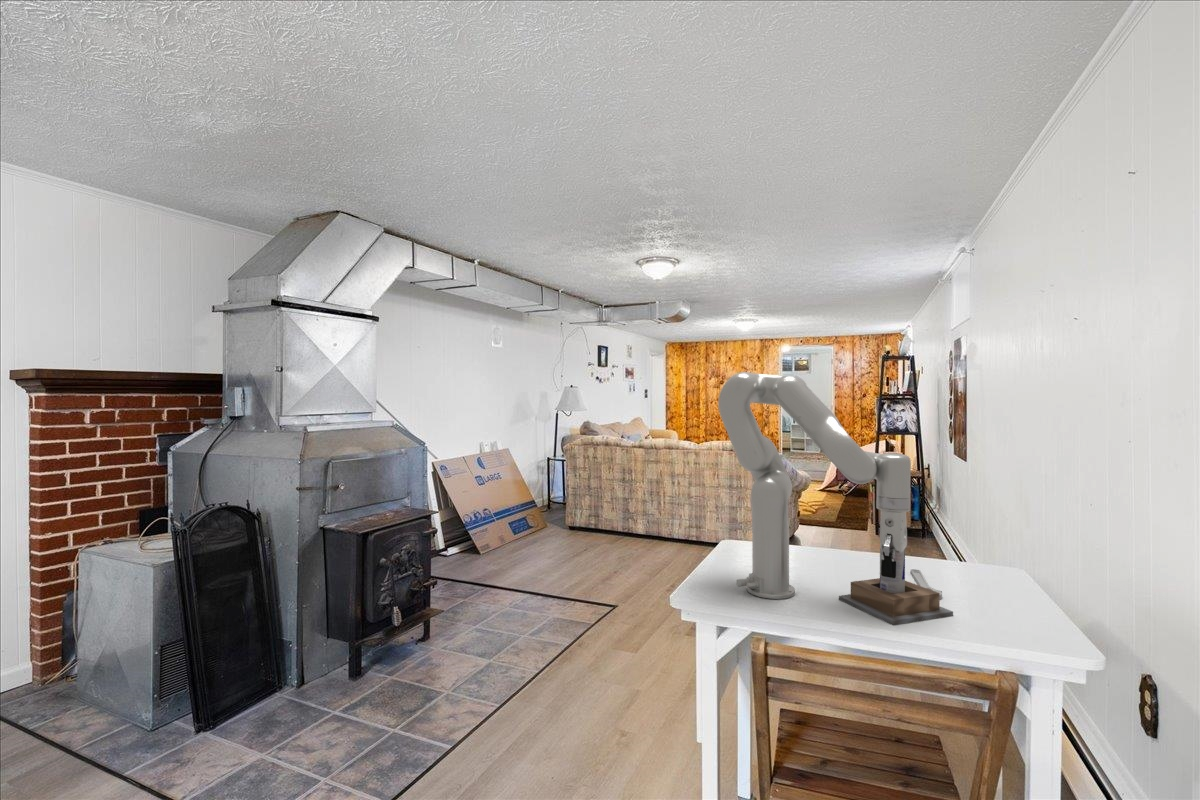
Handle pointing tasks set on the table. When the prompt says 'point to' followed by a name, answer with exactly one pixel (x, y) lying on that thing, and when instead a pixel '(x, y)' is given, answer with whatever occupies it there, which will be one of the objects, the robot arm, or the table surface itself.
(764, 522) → the robot arm
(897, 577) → the beverage can
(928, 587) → the adjustable wrench
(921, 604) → the holder
